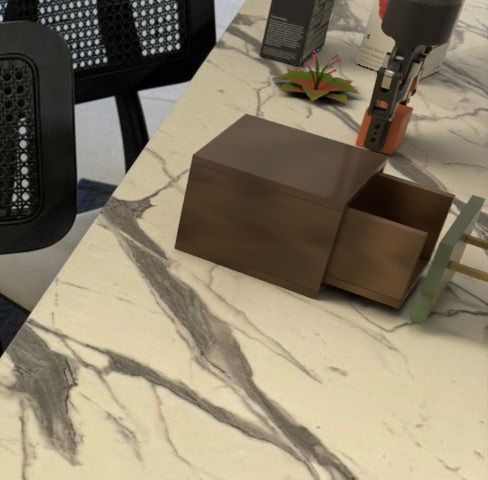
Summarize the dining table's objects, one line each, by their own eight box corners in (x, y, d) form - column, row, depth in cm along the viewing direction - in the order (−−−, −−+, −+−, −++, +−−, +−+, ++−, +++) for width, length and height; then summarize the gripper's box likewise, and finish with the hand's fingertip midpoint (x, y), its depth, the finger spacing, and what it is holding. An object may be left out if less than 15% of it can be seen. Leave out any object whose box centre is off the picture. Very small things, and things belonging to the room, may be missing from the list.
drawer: (515, 293, 96) (550, 218, 91) (487, 348, 89) (524, 269, 84) (321, 228, 103) (344, 155, 98) (280, 274, 96) (302, 197, 91)
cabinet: (358, 247, 103) (388, 156, 96) (315, 299, 95) (345, 204, 88) (225, 202, 108) (246, 113, 102) (173, 248, 100) (192, 154, 93)
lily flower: (263, 97, 131) (271, 61, 128) (275, 67, 139) (284, 32, 136) (357, 116, 129) (368, 79, 125) (364, 84, 137) (375, 49, 134)
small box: (281, 36, 149) (300, -42, 142) (324, 47, 147) (345, -32, 140) (255, 55, 142) (274, -25, 135) (300, 67, 140) (321, -14, 133)
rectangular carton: (352, 64, 143) (386, -53, 133) (385, 51, 148) (420, -63, 138) (410, 85, 138) (450, -34, 128) (442, 71, 143) (482, -45, 133)
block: (401, 143, 123) (413, 107, 120) (390, 155, 120) (403, 118, 117) (366, 133, 125) (377, 97, 122) (354, 144, 122) (366, 108, 119)
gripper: (445, 15, 105) (391, 171, 116) (478, -16, 114) (426, 132, 126) (374, -3, 108) (329, 152, 119) (412, -31, 117) (367, 115, 128)
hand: (379, 141), depth 122 cm, fingers open, 4 cm apart
